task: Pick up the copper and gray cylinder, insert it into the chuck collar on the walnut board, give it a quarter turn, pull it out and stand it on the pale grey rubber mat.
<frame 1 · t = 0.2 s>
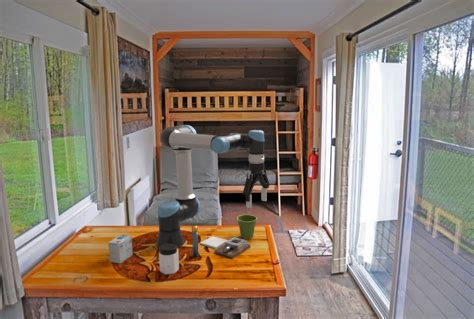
hand: (256, 204, 189), 28 cm above the table, fingers open, 13 cm apart
plant pot: (247, 236, 220), on the table
mat: (214, 243, 211), on the table
jar: (169, 270, 180), on the table
chuck: (235, 248, 204), on the table
light bulb box: (121, 258, 194), on the table
copper and gray cylinder: (195, 255, 195), on the table
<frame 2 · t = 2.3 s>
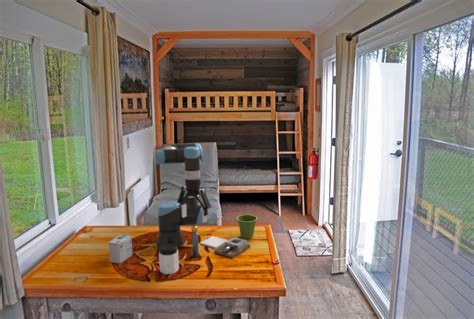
hand: (194, 219, 191), 20 cm above the table, fingers open, 13 cm apart
nothing on the table moved.
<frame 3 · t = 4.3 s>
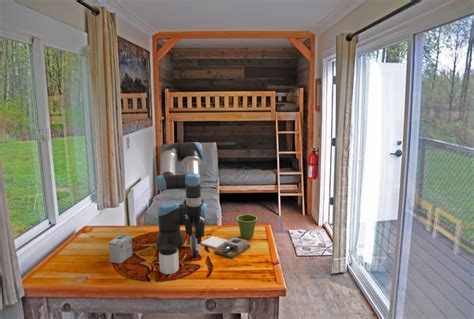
hand: (195, 248, 195), 4 cm above the table, fingers closed on copper and gray cylinder, 3 cm apart
copper and gray cylinder: (195, 255, 195), on the table, touching gripper
everything else where it was.
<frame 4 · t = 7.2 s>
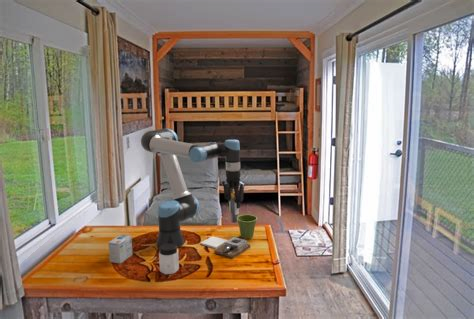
hand: (234, 213, 199), 20 cm above the table, fingers closed on copper and gray cylinder, 3 cm apart
copper and gray cylinder: (234, 221, 200), point 15 cm above the table, touching gripper
everything else where it was.
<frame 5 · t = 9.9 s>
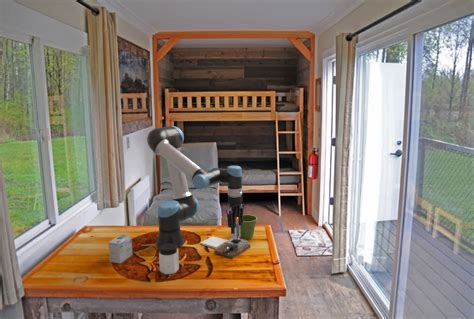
hand: (235, 237, 203), 6 cm above the table, fingers closed on copper and gray cylinder, 3 cm apart
copper and gray cylinder: (236, 245, 203), point 1 cm above the table, touching chuck, gripper
everything else where it was.
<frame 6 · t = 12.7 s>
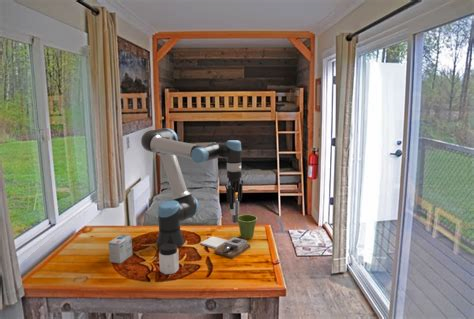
hand: (234, 213, 200), 19 cm above the table, fingers closed on copper and gray cylinder, 3 cm apart
copper and gray cylinder: (235, 221, 201), point 15 cm above the table, touching gripper
everything else where it was.
when the fingers open (6 cm above the table, at t = 15.4 s): copper and gray cylinder stays where it is, resting on mat.
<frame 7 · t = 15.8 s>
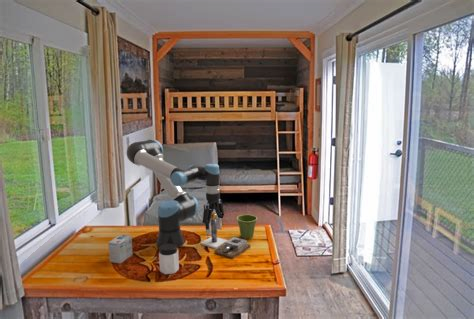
hand: (214, 231, 210), 7 cm above the table, fingers open, 9 cm apart
copper and gray cylinder: (214, 241, 211), point 1 cm above the table, touching mat
everything else where it was.
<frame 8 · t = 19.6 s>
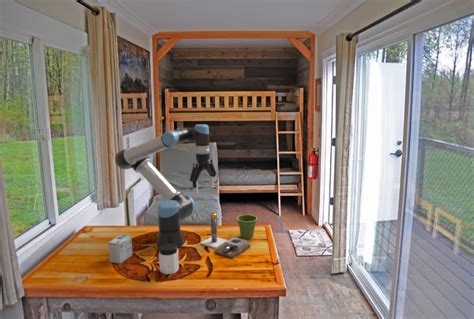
hand: (203, 190, 212), 29 cm above the table, fingers open, 13 cm apart
nothing on the table moved.
at the end: copper and gray cylinder inside the target area on the mat (0.0 cm from its centre), point 1.0 cm above the mat's base; copper and gray cylinder tilted 0°; the gripper is holding nothing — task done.
